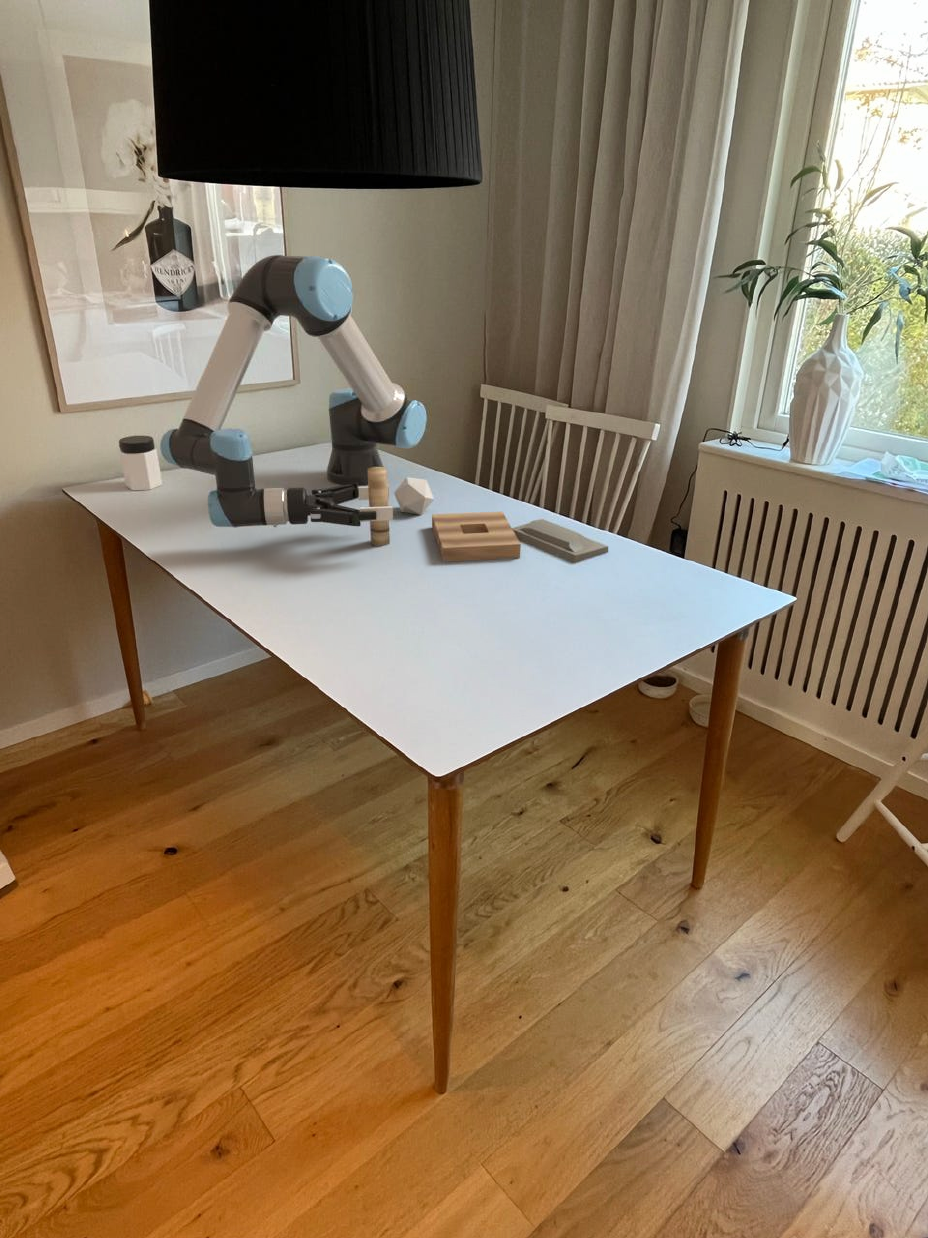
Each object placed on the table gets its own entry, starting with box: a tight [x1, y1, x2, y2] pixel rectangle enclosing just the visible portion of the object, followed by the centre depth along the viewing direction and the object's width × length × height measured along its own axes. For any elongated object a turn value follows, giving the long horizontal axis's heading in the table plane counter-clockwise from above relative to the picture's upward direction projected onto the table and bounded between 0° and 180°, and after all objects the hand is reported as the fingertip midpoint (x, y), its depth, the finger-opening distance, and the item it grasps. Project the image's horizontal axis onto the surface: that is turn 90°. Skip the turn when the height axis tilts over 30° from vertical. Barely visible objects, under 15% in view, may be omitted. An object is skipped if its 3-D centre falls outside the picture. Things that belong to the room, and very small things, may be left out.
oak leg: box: [367, 467, 391, 547], centre depth 166 cm, size 4×4×16 cm
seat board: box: [431, 511, 522, 563], centre depth 170 cm, size 20×16×3 cm
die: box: [393, 476, 435, 516], centre depth 186 cm, size 8×9×10 cm
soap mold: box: [511, 518, 609, 564], centre depth 170 cm, size 10×20×4 cm, turn 39°
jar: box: [118, 435, 163, 492], centre depth 201 cm, size 9×8×12 cm
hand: (391, 502), depth 166 cm, fingers open, 13 cm apart
